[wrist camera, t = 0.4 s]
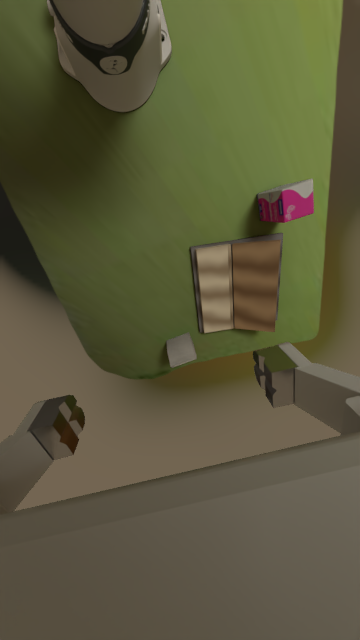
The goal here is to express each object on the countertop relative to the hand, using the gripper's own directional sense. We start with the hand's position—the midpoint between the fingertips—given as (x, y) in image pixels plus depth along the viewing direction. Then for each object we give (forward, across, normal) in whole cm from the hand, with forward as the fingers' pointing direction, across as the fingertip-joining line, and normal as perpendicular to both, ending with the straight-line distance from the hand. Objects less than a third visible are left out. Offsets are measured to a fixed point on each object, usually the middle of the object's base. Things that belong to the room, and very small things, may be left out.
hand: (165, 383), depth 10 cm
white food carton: (+46, +1, +26) cm, 53 cm away
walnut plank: (+42, -20, +14) cm, 49 cm away
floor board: (+46, -17, +14) cm, 51 cm away
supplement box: (+46, -27, -4) cm, 53 cm away
